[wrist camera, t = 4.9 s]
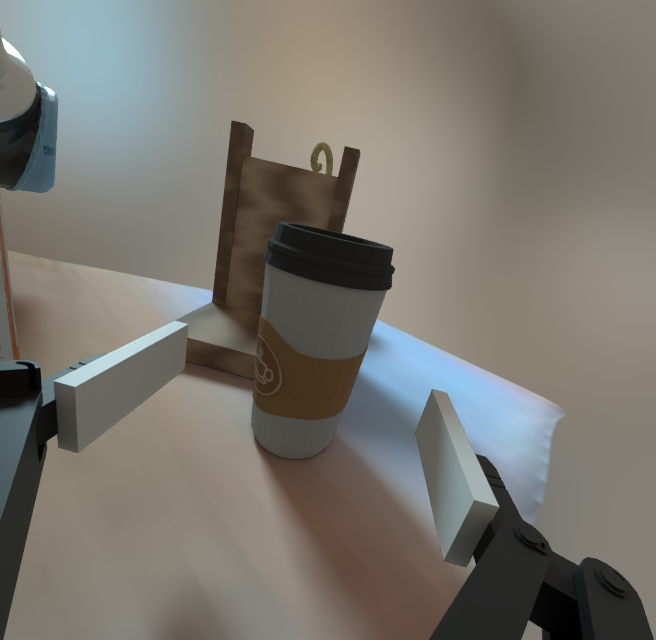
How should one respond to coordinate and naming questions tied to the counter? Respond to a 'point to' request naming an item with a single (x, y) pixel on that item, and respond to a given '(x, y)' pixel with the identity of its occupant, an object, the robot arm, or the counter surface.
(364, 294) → the coffee cup
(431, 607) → the counter surface
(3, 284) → the cracker box
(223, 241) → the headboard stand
